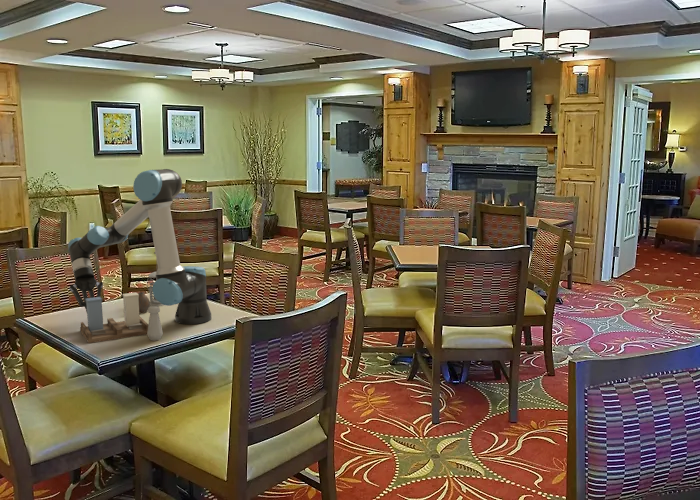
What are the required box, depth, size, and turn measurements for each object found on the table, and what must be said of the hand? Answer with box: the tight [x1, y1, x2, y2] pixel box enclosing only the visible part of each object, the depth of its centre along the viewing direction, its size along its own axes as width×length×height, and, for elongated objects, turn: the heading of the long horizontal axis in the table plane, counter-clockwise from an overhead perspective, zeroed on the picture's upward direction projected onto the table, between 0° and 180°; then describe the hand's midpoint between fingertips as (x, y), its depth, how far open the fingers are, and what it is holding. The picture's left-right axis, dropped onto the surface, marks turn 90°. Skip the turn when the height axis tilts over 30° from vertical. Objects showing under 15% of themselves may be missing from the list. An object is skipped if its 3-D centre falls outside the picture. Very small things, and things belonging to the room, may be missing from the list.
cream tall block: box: [122, 291, 141, 327], centre depth 252 cm, size 4×5×13 cm
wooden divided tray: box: [80, 315, 149, 344], centre depth 249 cm, size 18×23×4 cm
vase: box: [137, 291, 150, 314], centre depth 279 cm, size 7×7×9 cm
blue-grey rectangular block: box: [85, 296, 104, 332], centre depth 245 cm, size 4×5×13 cm
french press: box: [146, 251, 164, 307], centre depth 292 cm, size 10×12×25 cm
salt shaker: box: [146, 306, 164, 342], centre depth 240 cm, size 6×6×13 cm
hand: (93, 319), depth 248 cm, fingers closed
